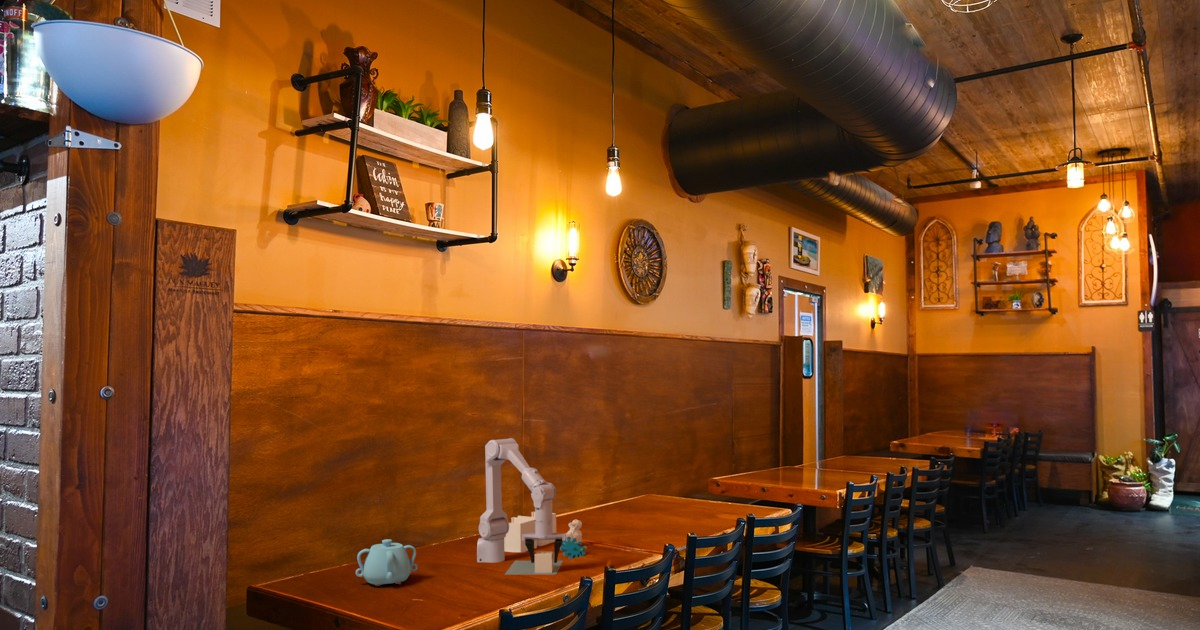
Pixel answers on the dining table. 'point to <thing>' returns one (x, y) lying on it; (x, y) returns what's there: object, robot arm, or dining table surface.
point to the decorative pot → (386, 563)
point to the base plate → (529, 568)
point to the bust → (574, 531)
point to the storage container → (523, 527)
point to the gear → (572, 548)
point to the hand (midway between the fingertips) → (544, 562)
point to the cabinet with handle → (544, 561)
